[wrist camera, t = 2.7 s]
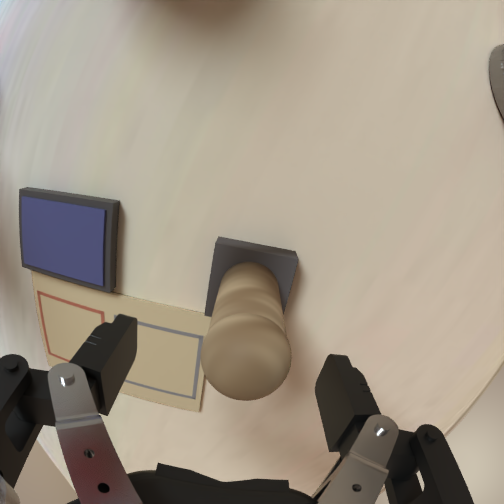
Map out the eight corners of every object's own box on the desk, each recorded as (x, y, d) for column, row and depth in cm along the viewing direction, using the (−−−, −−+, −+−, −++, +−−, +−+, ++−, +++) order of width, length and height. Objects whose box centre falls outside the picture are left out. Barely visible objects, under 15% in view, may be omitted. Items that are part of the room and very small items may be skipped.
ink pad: (119, 200, 18) (111, 203, 17) (115, 287, 20) (108, 294, 19) (27, 187, 18) (17, 189, 17) (29, 262, 20) (20, 267, 18)
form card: (213, 315, 21) (212, 317, 20) (199, 410, 24) (198, 412, 24) (33, 269, 20) (31, 270, 19) (50, 363, 23) (48, 365, 23)
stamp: (295, 251, 19) (330, 344, 9) (277, 317, 21) (291, 431, 11) (218, 236, 19) (182, 319, 9) (207, 304, 20) (175, 414, 11)
